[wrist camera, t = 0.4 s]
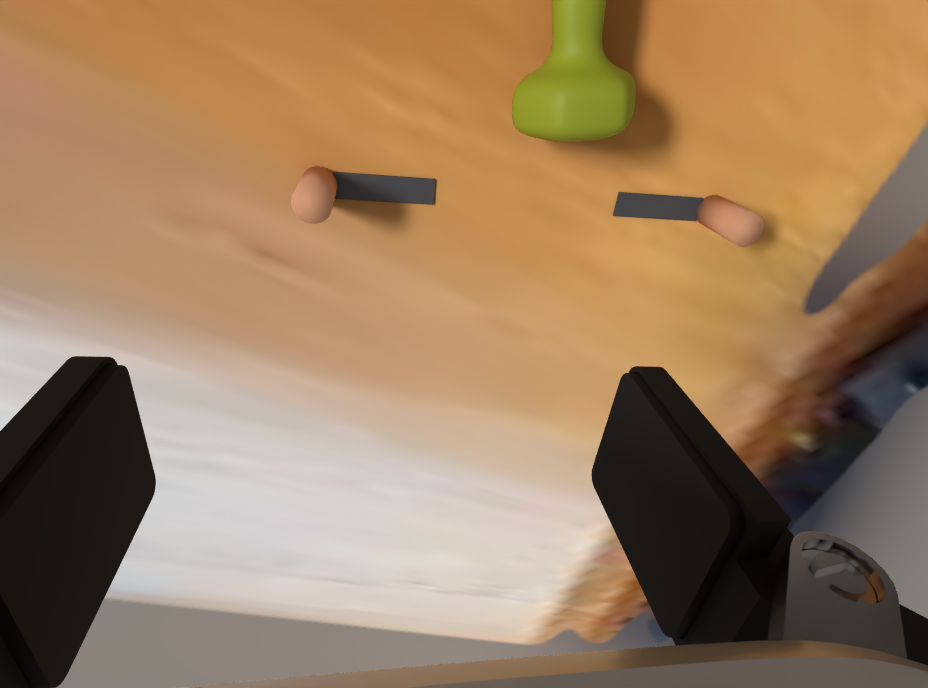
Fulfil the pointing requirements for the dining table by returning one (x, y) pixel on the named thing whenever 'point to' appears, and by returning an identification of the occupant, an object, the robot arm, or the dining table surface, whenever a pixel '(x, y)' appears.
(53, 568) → the robot arm
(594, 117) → the dumbbell
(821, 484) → the dining table surface
